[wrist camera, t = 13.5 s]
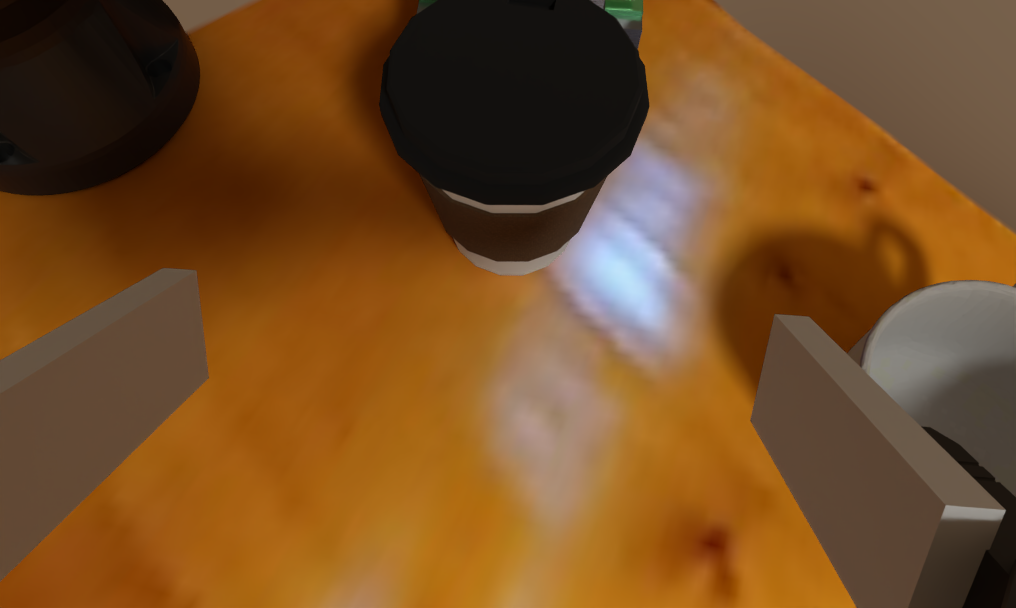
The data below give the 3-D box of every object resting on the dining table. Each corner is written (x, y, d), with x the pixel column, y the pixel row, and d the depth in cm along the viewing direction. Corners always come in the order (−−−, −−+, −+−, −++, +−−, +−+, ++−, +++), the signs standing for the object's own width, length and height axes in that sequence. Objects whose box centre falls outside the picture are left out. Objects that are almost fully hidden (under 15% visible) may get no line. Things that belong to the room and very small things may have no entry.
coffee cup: (439, 135, 39) (414, -47, 28) (621, 165, 38) (668, -11, 27) (389, 297, 34) (337, 155, 24) (595, 335, 34) (638, 205, 23)
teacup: (933, 629, 28) (1083, 636, 21) (740, 438, 31) (810, 387, 24) (1097, 421, 32) (1271, 366, 25) (909, 272, 35) (1014, 185, 28)
